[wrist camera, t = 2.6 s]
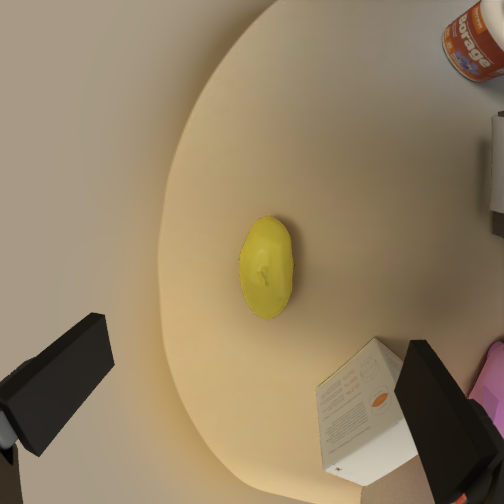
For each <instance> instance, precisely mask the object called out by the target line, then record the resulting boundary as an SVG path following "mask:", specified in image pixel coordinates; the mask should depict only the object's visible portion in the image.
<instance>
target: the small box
mask: <svg viewBox="0 0 504 504" xmlns="http://www.w3.org/2000/svg"><path fill="white" fill-rule="evenodd" d="M403 363H404V362H403V361H402V360H401V359H400V358H398V357H397V356H396V355H395V354H394V353H393V352H392V351H390V350H389V349H388V348H387V347H386V346H385V345H383V344H382V343H381V342H380V341H379V340H377V339H376V338H373V339H372V340H371V341H370V342H369V343H368V344H367V345H366V346H364V347H363V348H362V349H361V350H360V351H359V352H358V353H357V354H356V355H355V356H353V357H352V358H351V359H350V360H349V361H348V362H347V363H346V364H345V365H343V366H342V367H341V368H340V369H339V370H338V371H336V372H335V373H334V374H333V375H332V376H331V377H329V378H328V379H327V380H326V381H325V382H323V383H322V384H321V385H320V386H318V387H317V388H316V398H317V409H318V419H319V430H320V443H321V455H322V468H323V470H324V471H326V472H329V473H331V474H333V475H336V476H338V477H341V478H344V479H346V480H349V481H351V482H354V483H357V484H360V485H363V486H367V485H369V484H371V483H372V482H374V481H376V480H378V479H380V478H381V477H383V476H385V475H386V474H388V473H390V472H391V471H393V470H394V469H396V468H398V467H399V466H401V465H402V464H404V463H405V462H407V461H409V460H410V459H412V458H413V457H414V456H416V455H417V454H418V452H417V449H416V446H415V444H414V441H413V438H412V436H411V433H410V430H409V428H408V425H407V423H406V420H405V418H404V415H403V413H402V410H401V408H400V405H399V403H398V400H397V398H396V396H395V393H394V389H395V386H396V383H397V380H398V377H399V375H400V372H401V369H402V366H403Z"/></svg>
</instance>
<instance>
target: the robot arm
mask: <svg viewBox="0 0 504 504" xmlns="http://www.w3.org/2000/svg"><path fill="white" fill-rule="evenodd" d="M114 365H115V364H114V360H113V355H112V351H111V346H110V341H109V336H108V330H107V325H106V319H105V315H103V314H98V313H90V314H89V315H87V316H86V317H85V318H84V319H82V320H81V321H80V322H78V323H77V324H76V325H75V326H73V327H72V328H71V329H70V330H68V331H67V332H66V333H65V334H63V335H62V336H61V337H60V338H58V339H57V340H56V341H54V342H53V343H52V344H51V345H50V346H48V347H47V348H46V349H45V350H43V351H42V352H41V353H40V354H39V355H37V356H36V357H34V358H31V359H29V360H27V361H25V362H23V363H22V364H21V365H20V366H19V367H17V369H16V370H14V371H13V372H11V374H10V375H8V376H7V377H5V378H4V379H3V380H2V381H1V382H0V504H23V500H22V492H21V484H20V475H19V463H18V462H19V461H18V448H17V445H16V444H15V442H16V440H17V439H19V440H20V442H21V443H22V445H23V446H24V448H25V449H26V450H28V451H29V452H31V453H33V454H34V455H36V456H38V457H40V455H41V454H42V453H43V452H44V450H45V449H46V448H47V447H48V445H49V444H50V443H51V442H52V440H53V439H54V438H55V437H56V435H57V434H58V433H59V432H60V430H61V429H62V428H63V427H64V425H65V424H66V423H67V422H68V420H69V419H70V418H71V417H72V416H73V414H74V413H75V412H76V411H77V409H78V408H79V407H80V406H81V405H82V403H83V402H84V401H85V400H86V399H87V397H88V396H89V395H90V394H91V393H92V391H93V390H94V389H95V388H96V386H97V385H98V384H99V383H100V382H101V381H102V379H103V378H104V377H105V376H106V375H107V373H108V372H109V371H110V370H111V369H112V368H113V366H114ZM394 393H395V396H396V398H397V400H398V403H399V405H400V408H401V410H402V413H403V415H404V418H405V420H406V423H407V425H408V428H409V430H410V433H411V436H412V438H413V441H414V444H415V446H416V449H417V452H418V454H419V457H420V460H421V463H422V466H423V469H424V471H425V474H426V477H427V480H428V483H429V486H430V489H431V492H432V496H433V499H434V502H435V504H452V503H455V502H456V501H457V500H458V499H459V498H460V497H461V496H462V495H463V494H465V496H466V500H465V501H464V502H463V503H462V504H504V439H503V437H502V435H501V434H500V432H499V431H498V429H497V427H496V426H495V424H494V425H493V421H492V420H491V418H490V417H488V414H487V412H486V411H485V409H484V408H483V406H482V405H481V404H479V403H478V402H477V401H476V400H474V399H473V398H472V399H467V398H466V396H465V395H464V393H463V392H462V390H461V389H460V387H459V386H458V384H457V383H456V382H455V380H454V379H453V377H452V376H451V374H450V373H449V371H448V370H447V369H446V367H445V366H444V364H443V363H442V361H441V360H440V359H439V357H438V356H437V354H436V353H435V352H434V350H433V349H432V348H431V346H430V345H429V344H428V342H427V341H426V340H410V344H409V347H408V350H407V354H406V357H405V360H404V363H403V366H402V369H401V372H400V375H399V377H398V380H397V383H396V386H395V389H394Z"/></svg>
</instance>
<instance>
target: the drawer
mask: <svg viewBox="0 0 504 504" xmlns="http://www.w3.org/2000/svg"><path fill="white" fill-rule="evenodd" d="M489 210H491V211H495V220H494V227H493V234H495V235H497V236H500V237H503V238H504V111H500V112H498V116H496V117H492V178H491V192H490V203H489Z"/></svg>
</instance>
